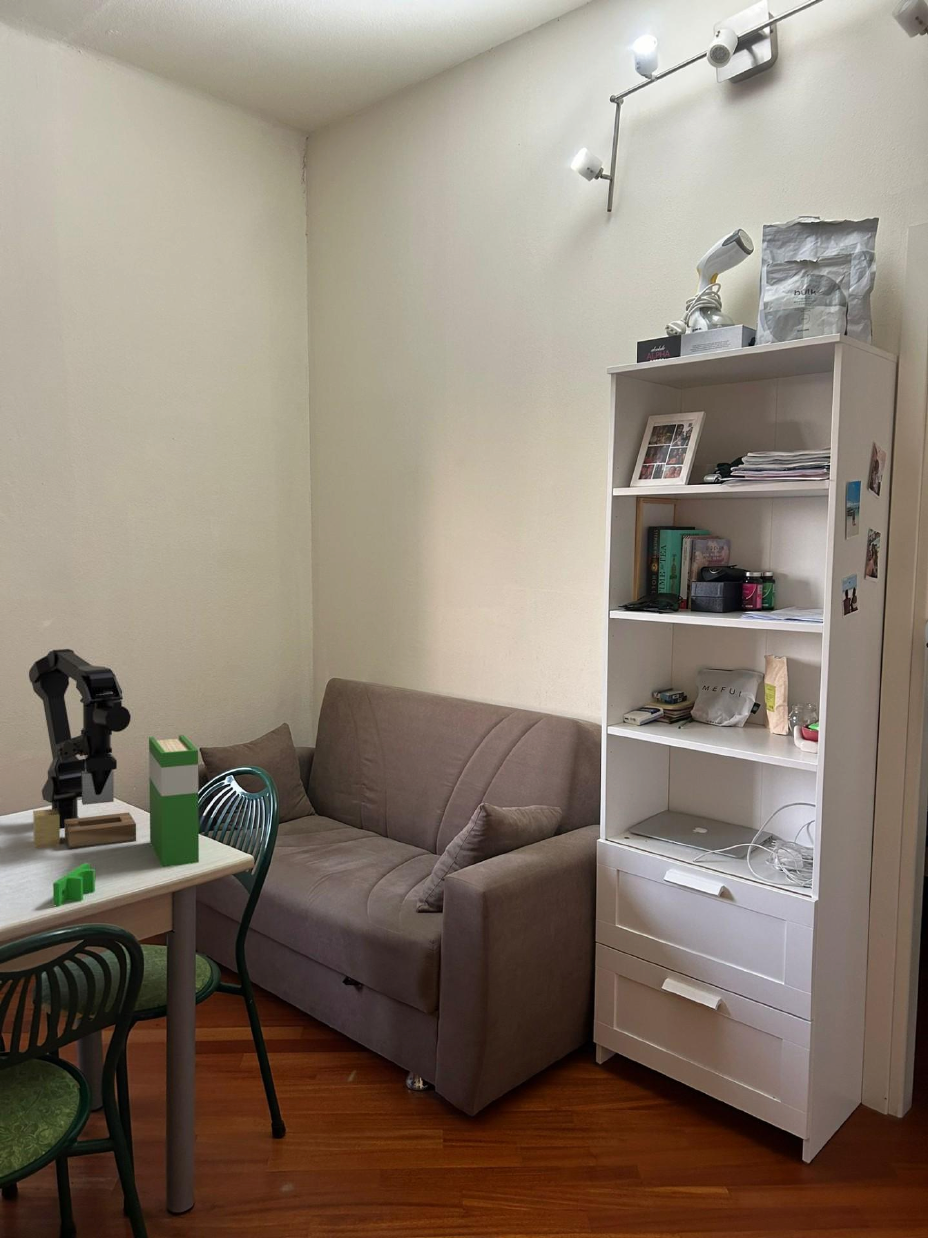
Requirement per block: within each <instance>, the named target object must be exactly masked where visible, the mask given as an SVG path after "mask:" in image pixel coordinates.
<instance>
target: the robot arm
mask: <svg viewBox="0 0 928 1238" xmlns="http://www.w3.org/2000/svg"><path fill="white" fill-rule="evenodd" d="M70 678H71V679H72V680H73V681H75V682H76V684H75V688H76V689H77V691H78V692H79V694H80V696H81V698H80V703H81V704H82V718H83V719H82V724H83V725H82V726H83V727H82V728H81V729H80V735H78V736H74V737H72V734H71V728H70V722H69V717H68V711H67V704H66V700H65V694H66V692H67V691H68V687H69V685H70ZM28 679H29V681H30V683H31V685H32V688H33V689H32V690H33V692H34V694H36V695H37V696H38V697H39V698H40V699H41V700H42V702H43V703H42V704H43V708H44V709H43V710H44V713H45V714H44V715H45V721H46V727H47V734H48V738H49V744H50V752H51V757H52V761H51V763H50V765H49V768H48V770H47V779H46V781H45V783H44V784H43V787H42V790H41V795H42V800H43V801H46V802H48V803H49V804H51V809H58V812H59V822H60V828H65V820H66V819H75V818H80V817H79V816H78V815H79V813H78V811H79V810H78V803H79V802H78V798H82V780H81V771H88V772H90V773H91V775H92V780H93V785H94V789H95V794H96V795H100V794H101V793H102V791H103V788H104V786H105V784H106V781H107V779H108V777H109V775H110V773H111V771H112V770H113V771H114V770H117V769H118V768H117V766H118V764H117V763H118V761H117V759H116V757H115V756H114V755H113V754H112V753H113V748H112V744H111V743H112V742H111V741H112V735H113V732H114V733H115V732H116V733H119V732H122V731H124V730H126V728H127V727H128V726H129V725H130V723H131V719H132V718H131V714H130V711H129V710H128V708H127V707H125V706H123V703H122V701H123V699H124V698H123V697H124V696H123V690H122V688H121V685H120V684H119V682H118V680H117V676H116V674H115V673H114V671H113V670H112V669H111V668H110V667H106V666H99V665H98V666H96V665H93V664H91V663H89V662H88V661H86V660H85V659H83V658H82V657H80V656H79V655H77V654H76V653H75V652H74V650H73V649H70V648H63V649H61V648H60V649H52V650H50V651H48V654H47V655H45V656H43V657H41V658H39V659H38V660H36V661H34V663H33V665H32V666H31V667H30V669H29V670H28ZM78 755H79V757H83V756H84V757H85V758H82V759H80V758H79V757H77V756H78Z"/></svg>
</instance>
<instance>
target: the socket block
mask: <svg viewBox="0 0 928 1238" xmlns="http://www.w3.org/2000/svg"><path fill="white" fill-rule="evenodd" d="M64 839H65V841H66V844H67V848H68V850H77V849H84V848H92V847H100V846H107V845H115V844H117V845H118V844H123V843H132V842H137V822H136V821H135V820H134V818H133V816H132V815H131V813H130V812H129V811H128V812H120V813H119V812H118V813H113V814H103V815H94V816H87V817H86V816H84V817H79V818H75V819H66V820H65V827H64Z"/></svg>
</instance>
